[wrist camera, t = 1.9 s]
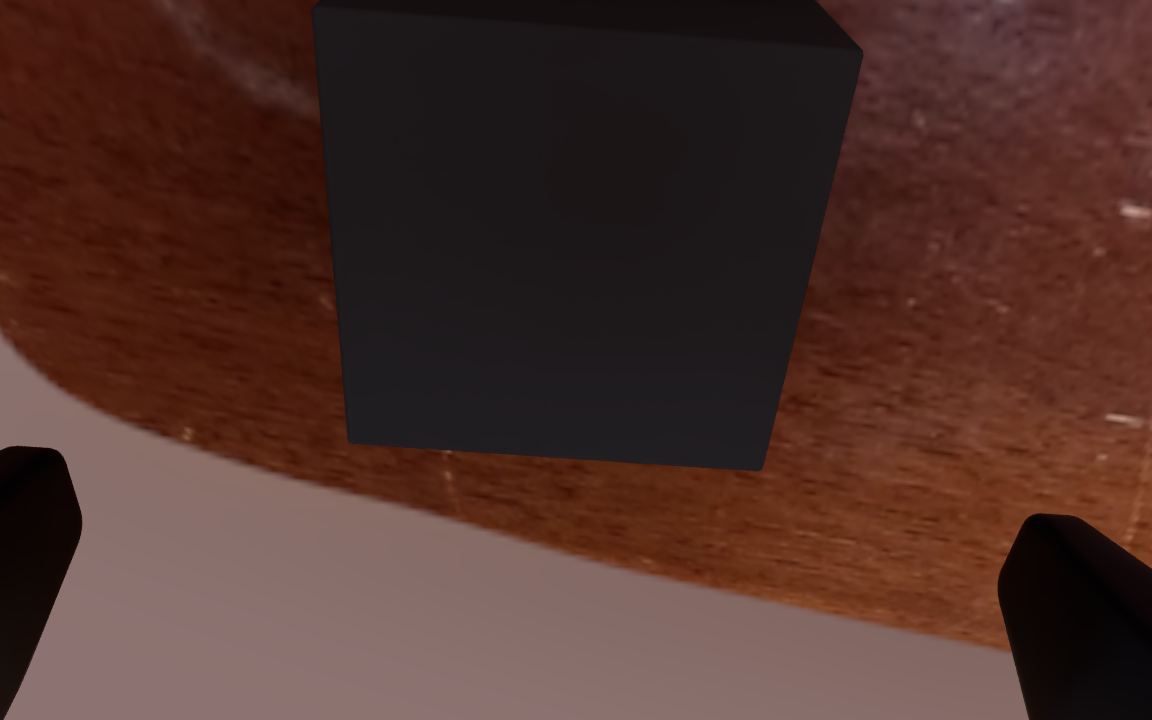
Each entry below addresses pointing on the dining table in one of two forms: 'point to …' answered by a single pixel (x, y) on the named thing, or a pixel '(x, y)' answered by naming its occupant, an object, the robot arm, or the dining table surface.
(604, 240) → the small pad
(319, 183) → the dining table surface
